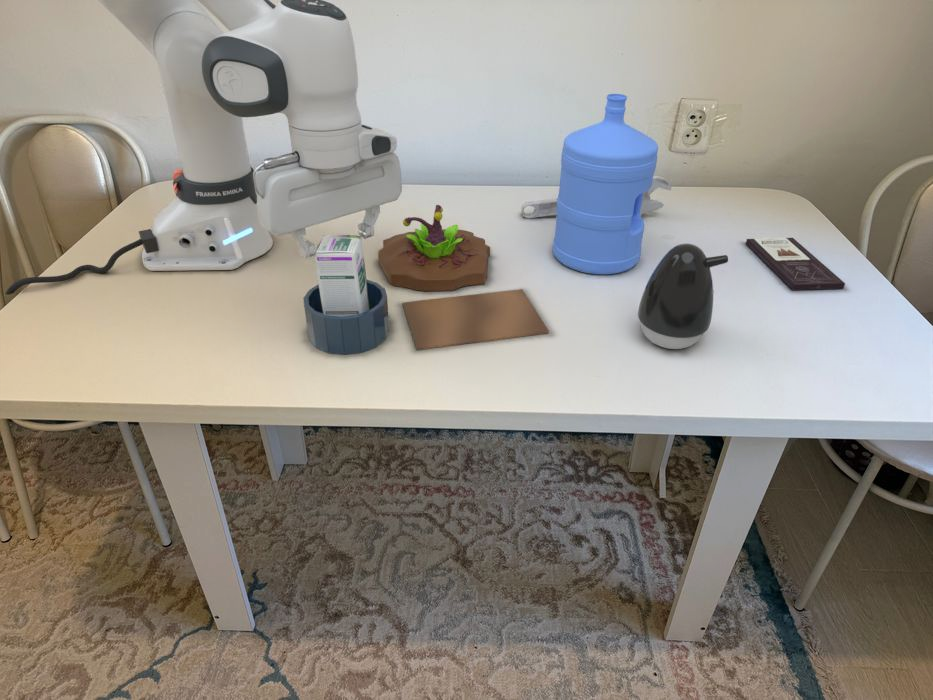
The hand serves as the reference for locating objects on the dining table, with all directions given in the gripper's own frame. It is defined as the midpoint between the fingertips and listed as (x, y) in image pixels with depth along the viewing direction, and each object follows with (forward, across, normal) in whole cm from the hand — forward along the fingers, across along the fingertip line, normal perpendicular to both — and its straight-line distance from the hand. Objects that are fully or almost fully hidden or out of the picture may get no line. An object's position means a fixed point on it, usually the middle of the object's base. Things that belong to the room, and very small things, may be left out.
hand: (338, 245), depth 91 cm
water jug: (+14, +48, -8) cm, 51 cm away
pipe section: (+14, 0, 0) cm, 14 cm away
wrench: (+14, +62, +4) cm, 64 cm away
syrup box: (+14, 0, 0) cm, 14 cm away
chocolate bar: (+14, +72, -34) cm, 81 cm away
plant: (+14, +24, +8) cm, 29 cm away
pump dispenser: (+14, +35, -33) cm, 50 cm away
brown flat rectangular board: (+14, +17, -9) cm, 24 cm away
